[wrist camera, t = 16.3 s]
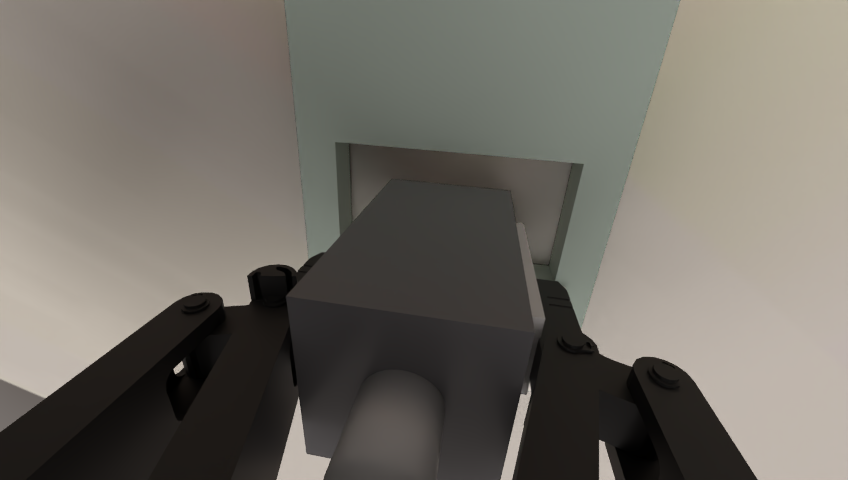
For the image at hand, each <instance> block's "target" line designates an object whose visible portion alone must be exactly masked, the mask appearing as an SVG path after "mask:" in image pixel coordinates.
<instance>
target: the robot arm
mask: <svg viewBox="0 0 848 480" xmlns="http://www.w3.org/2000/svg"><path fill="white" fill-rule="evenodd" d="M516 226H517V232H518V237H519V243H520V249H521V255H522V260H523V266H524V272H525V278H526V283H527V289H528V295H529V301H530V306H531V312H532V318H533V324H534V329H535V335H534V339H533V343H532V348H531V352H530V356H529V360H528V365H527V369H526V373H525V377H524V382H523V386H522V390H521V394H525V395H527V391H528V387H529V383H530V386H531V397H530V401H529V405H528V409H527V413H526V417H525V421H524V428H523V433H522V437H521V442H520V447H519V451H518V456H517V461H516V465H515V470H514V474H513V479H512V480H599V440H601V441H604V442H605V446H606V449H607V453H608V456H609V459H610V463H611V466H612V470H613V473H614V476H615V480H757V478H756V476H755V475H754V473H753V472H752V470H751V469H750V467H749V466H748V464H747V463H746V461H745V459H744V458H743V456H742V455H741V453H740V452H739V450H738V449H737V447H736V445H735V444H734V442H733V441H732V439H731V438H730V436H729V435H728V433H727V432H726V430H725V428H724V427H723V425H722V424H721V422H720V421H719V419H718V418H717V416H716V414H715V413H714V411H713V410H712V408H711V407H710V405H709V404H708V402H707V401H706V399H705V397H704V396H703V394H702V393H701V391H700V390H699V388H698V387H697V385H696V383H695V382H694V381H693V380H692V378H691V377H690V376H689V375H688V374H687V373H686V372H685V371H683V370H682V369H680V368H679V367H678V366H676V365H674V364H672V363H670V362H668V361H665V360H662V359H659V358H655V357H641V358H639V359H636V361H635V362H634V364H633V366H632V367H630V366H627V365H625V364H622V363H619V362H616V361H614V360H611V359H609V358H607V357H604V356H603V355H601V354H599V351H598V348H597V345H596V344H595V343H594V342H593V341H592V339H590V338H589V337H587V336H586V335H584V334H583V333H582V331H581V328H580V325H579V323H578V320H577V317H576V314H575V311H574V309H573V306H572V303H571V301H570V297H569V294H568V292H567V290H566V289H565V288H564V287H563V286H562V285H561V284H560V283H559V282H558V281H551V280H543V279H536V275H535V271H534V266H533V262H532V258H531V253H530V249H529V244H528V240H527V235H526V231H525V227H524V223H516ZM324 253H325V252H321V253H319V254H317V255H315V256H313V257H311V258H310V259H309V260H308V261H307V262H306V263H305V264H304V266H302V267H301V268H300V269H299V270H298V272H296V271H295V270H294V268H292V267H290V266H287V265H268V266H264V267H260V268H258V269H256V270H254V271H252V272H251V273H250V274H249V275H248V276H247V278H248V283H249V289H250V294H251V300H252V301H251V302H250V304H249V305H245V306H229V307H224V304H223V299H222V298H221V297H220V296H219V295H218V294H215V293H195V294H191V295H189V296H186V297H183V298H182V299H180V300H178V301H176V302H175V303H173V304H172V305H171V306H169V307H168V308H166V309H165V310H164V311H162V312H161V313H160V314H158V315H157V316H156V317H154V318H153V319H152V320H150V321H149V322H148V323H146V324H145V325H144V326H142V327H141V328H140V329H138V330H137V331H136V332H134V333H133V334H132V335H130V336H129V337H128V338H126V339H125V340H124V341H122V342H121V343H119V344H118V345H117V346H115V347H114V348H113V349H111V350H110V351H109V352H107V353H106V354H105V355H103V356H102V357H101V358H99V359H98V360H97V361H95V362H94V363H93V364H91V365H90V366H89V367H87V368H86V369H85V370H83V371H82V372H81V373H79V374H78V375H77V376H75V377H74V378H73V379H71V380H70V381H68V382H67V383H66V384H64V385H63V386H62V387H60V388H59V389H58V390H56V391H55V392H54V393H52V394H51V395H50V396H48V397H47V398H46V399H44V400H43V401H42V402H40V403H39V404H38V405H36V406H35V407H34V408H32V409H31V410H30V411H28V412H27V413H26V414H24V415H23V416H21V417H20V418H19V419H17V420H16V421H15V422H14V423H12V424H11V425H9V426H8V427H7V428H6V429H4V430H3V431H1V432H0V480H276V479H277V475H278V472H279V468H280V464H281V461H282V457H283V453H284V449H285V446H286V442H287V438H288V434H289V431H290V427H291V423H292V420H293V416H294V412H295V408H296V405H297V401H298V397H299V392H298V384H297V377H296V369H295V362H294V354H293V346H292V339H291V331H290V324H289V316H288V309H287V301H286V295H287V294H288V293H289V292H290V291H291V290H292V289H293V288H294V287H295V285H296V284H297V283H298V282H299V281H300V280H301V279H302V278H303V277H304V276H305V274H306V273H307V272H308V271H309V270H310V269H311V268H312V267H313V266H314V264H315V263H316V262H317V261H318V260H319V259H320V258H321V257H322V256H323V254H324ZM181 361H182V362H183V365H184V368H183V369H182V370H181V371H180V372H179V373H177V374H175V373H174V370H173V369H174V368H175V367H176V366H177V365H178V364H179V363H180V362H181Z"/></svg>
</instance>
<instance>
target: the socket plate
mask: <svg viewBox="0 0 848 480" xmlns="http://www.w3.org/2000/svg"><path fill="white" fill-rule="evenodd" d="M284 3H285V14H286V24H287V35H288V45H289V56H290V66H291V77H292V88H293V98H294V109H295V119H296V130H297V141H298V151H299V162H300V172H301V183H302V193H303V204H304V215H305V225H306V236H307V246H308V257H309V259H310V258H311V257H313V256H315V255H317V254H319V253H321V252H326V251H327V250H328V249H329V248H330V247H331V246H332V244H333V243H334V242H335V241H336V240H337V239H338V238H339V237H340V236H341V234H342V233H343V232H344V231H345V230H346V229H347V228H348V227H349V226H350V224H351V223H352V215H351V186H350V157H349V143H352V144H363V145H374V146H386V147H397V148H408V149H420V150H431V151H443V152H454V153H465V154H477V155H488V156H499V157H511V158H522V159H534V160H545V161H556V162H568V163H573V164H572V169H571V173H570V177H569V182H568V186H567V190H566V194H565V199H564V203H563V207H562V212H561V216H560V220H559V224H558V229H557V233H556V237H555V242H554V246H553V250H552V254H551V259H550V263H549V266H548V265H539V264H533V266H534V271H535V275H536V279H543V280H551V281H558V282H559V283H560V284H561V285H562V286H563V287H566V290H567V292H568V294H569V297H570V301H571V303H572V306H573V309H574V311H575V314H576V317H577V320H578V323H579V325H580V328H581V327H582V324H583V320H584V317H585V314H586V311H587V307H588V304H589V301H590V297H591V294H592V291H593V287H594V284H595V281H596V278H597V274H598V271H599V268H600V264H601V261H602V258H603V254H604V251H605V248H606V245H607V241H608V238H609V235H610V231H611V228H612V225H613V221H614V218H615V215H616V212H617V208H618V205H619V202H620V198H621V195H622V192H623V188H624V185H625V182H626V178H627V175H628V172H629V169H630V165H631V162H632V159H633V155H634V152H635V149H636V145H637V142H638V139H639V136H640V132H641V129H642V126H643V122H644V119H645V116H646V112H647V109H648V106H649V103H650V99H651V96H652V93H653V89H654V86H655V83H656V79H657V76H658V73H659V70H660V66H661V63H662V60H663V56H664V53H665V50H666V46H667V43H668V40H669V37H670V33H671V30H672V27H673V23H674V20H675V17H676V13H677V10H678V7H679V4H680V0H284Z"/></svg>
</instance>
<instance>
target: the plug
mask: <svg viewBox="0 0 848 480" xmlns="http://www.w3.org/2000/svg"><path fill="white" fill-rule="evenodd" d="M286 301H287V309H288V316H289V324H290V331H291V339H292V346H293V354H294V362H295V369H296V377H297V384H298V392H299V400H300V407H301V415H302V422H303V430H304V438H305V445H306V453H307V454H311V455H316V456H321V457H326V458H331V461H330V463H329V466H328V468H327V471H326V473H325V476H324V480H500V479H501V475H502V470H503V466H504V462H505V458H506V454H507V449H508V445H509V441H510V437H511V432H512V428H513V424H514V420H515V415H516V411H517V407H518V403H519V398H520V394H521V390H522V386H523V382H524V377H525V373H526V369H527V365H528V360H529V356H530V352H531V348H532V343H533V339H534V335H535V329H534V324H533V318H532V312H531V306H530V301H529V295H528V289H527V283H526V278H525V272H524V266H523V260H522V255H521V249H520V243H519V237H518V232H517V226H516V220H515V214H514V209H513V203H512V197H511V191H508V190H498V189H488V188H478V187H468V186H458V185H448V184H438V183H428V182H418V181H408V180H398V179H391V180H390V181H389V182H388V183H387V185H386V186H385V187H384V188H383V189H382V190H381V191H380V192H379V193H378V195H377V196H376V197H375V198H374V199H373V200H372V201H371V202H370V203H369V205H368V206H367V207H366V208H365V209H364V210H363V211H362V212H361V213H360V215H359V216H358V217H357V218H356V219H355V220H354V221H353V222H352V223H351V224H350V226H349V227H348V228H347V229H346V230H345V231H344V232H343V233H342V234H341V236H340V237H339V238H338V239H337V240H336V241H335V242H334V243H333V244H332V246H331V247H330V248H329V249H328V250H327V251H326V252H325V253H324V254H323V256H322V257H321V258H320V259H319V260H318V261H317V262H316V263H315V264H314V266H313V267H312V268H311V269H310V270H309V271H308V272H307V273H306V274H305V276H304V277H303V278H302V279H301V280H300V281H299V282H298V283H297V284H296V285H295V287H294V288H293V289H292V290H291V291H290V292H289V293H288V294H287V295H286Z"/></svg>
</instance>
